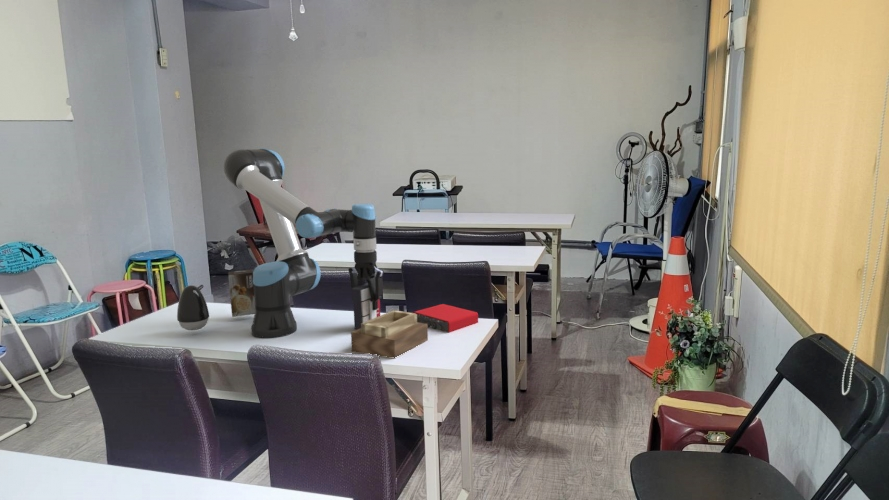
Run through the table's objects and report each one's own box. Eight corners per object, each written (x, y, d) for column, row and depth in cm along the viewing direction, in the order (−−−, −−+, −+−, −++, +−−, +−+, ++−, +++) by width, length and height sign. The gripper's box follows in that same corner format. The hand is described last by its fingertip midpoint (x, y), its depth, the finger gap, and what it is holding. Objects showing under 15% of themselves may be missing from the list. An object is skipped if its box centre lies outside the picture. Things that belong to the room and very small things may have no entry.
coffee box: (256, 310, 228) (253, 269, 226) (257, 314, 223) (254, 272, 220) (231, 312, 225) (227, 271, 222) (231, 317, 219) (228, 274, 217)
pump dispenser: (216, 325, 209) (213, 283, 206) (193, 334, 200) (189, 290, 197) (195, 322, 213) (192, 281, 211) (171, 330, 204) (167, 287, 201)
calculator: (363, 333, 198) (361, 289, 195) (353, 331, 200) (351, 288, 197) (382, 324, 207) (380, 282, 205) (371, 323, 209) (370, 281, 207)
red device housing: (412, 325, 207) (412, 311, 206) (441, 316, 217) (441, 303, 216) (449, 336, 195) (449, 321, 194) (478, 326, 205) (478, 312, 204)
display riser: (351, 351, 180) (350, 322, 179) (386, 334, 196) (385, 308, 194) (395, 360, 172) (394, 330, 171) (427, 342, 188) (427, 314, 186)
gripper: (338, 250, 200) (341, 317, 204) (379, 254, 191) (381, 324, 195) (352, 247, 206) (355, 312, 210) (392, 250, 198) (394, 318, 202)
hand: (367, 317), depth 203 cm, fingers closed on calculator, 4 cm apart
